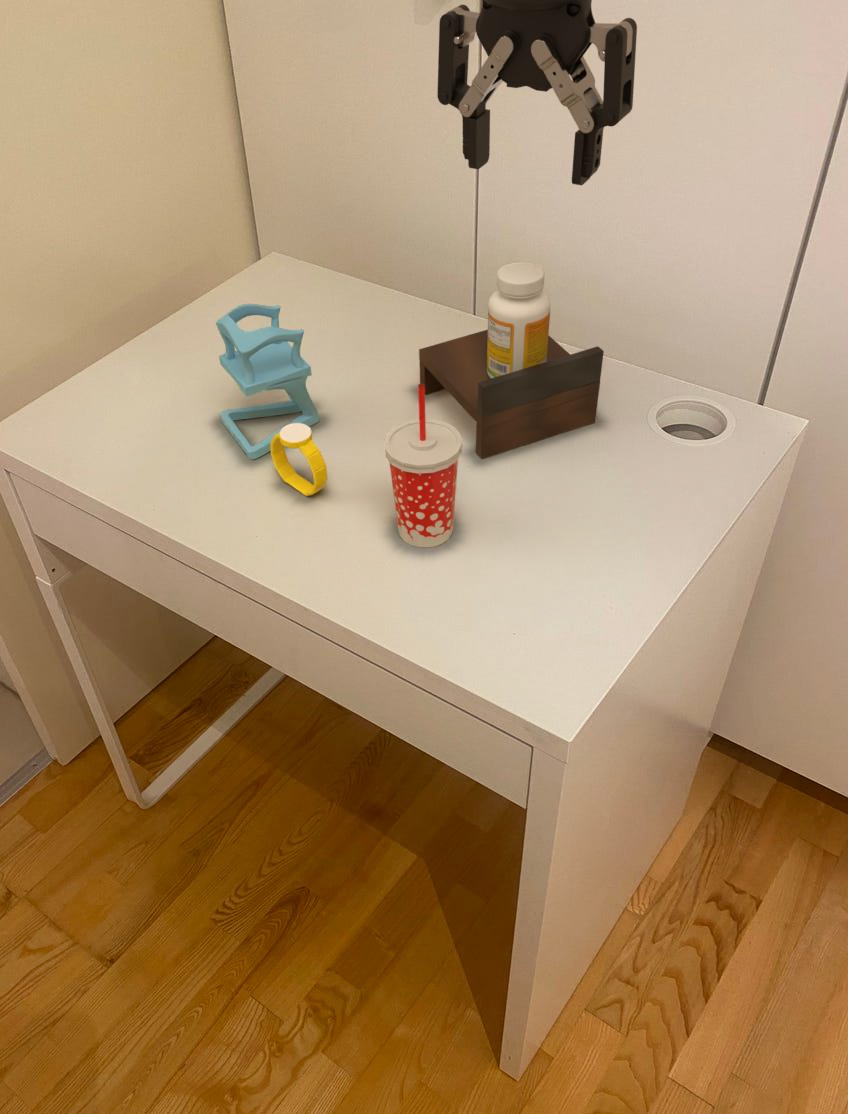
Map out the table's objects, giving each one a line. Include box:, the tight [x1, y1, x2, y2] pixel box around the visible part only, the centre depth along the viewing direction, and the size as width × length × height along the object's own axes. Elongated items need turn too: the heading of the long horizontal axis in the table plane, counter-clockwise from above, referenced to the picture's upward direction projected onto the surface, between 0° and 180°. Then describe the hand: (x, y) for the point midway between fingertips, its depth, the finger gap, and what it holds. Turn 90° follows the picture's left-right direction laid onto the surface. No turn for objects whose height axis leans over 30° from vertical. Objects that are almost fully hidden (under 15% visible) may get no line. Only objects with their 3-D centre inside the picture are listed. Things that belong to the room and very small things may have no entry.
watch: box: [270, 423, 328, 497], centre depth 86 cm, size 6×3×6 cm, turn 45°
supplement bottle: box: [487, 261, 551, 378], centre depth 87 cm, size 5×5×10 cm
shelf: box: [418, 329, 604, 460], centre depth 93 cm, size 12×13×8 cm
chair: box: [215, 303, 320, 460], centre depth 91 cm, size 8×8×12 cm
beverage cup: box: [383, 383, 463, 549], centre depth 78 cm, size 6×6×14 cm
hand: (528, 173), depth 75 cm, fingers open, 8 cm apart
